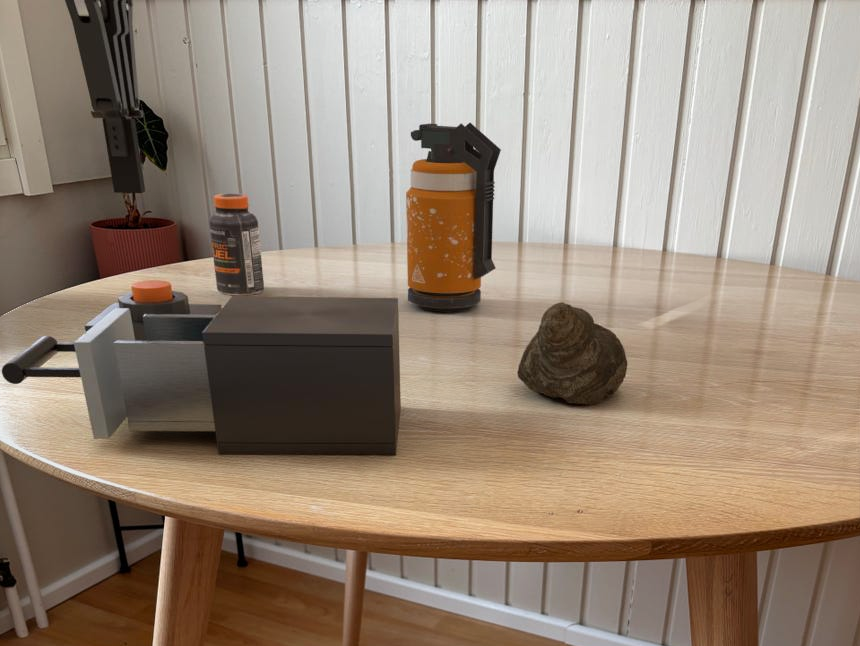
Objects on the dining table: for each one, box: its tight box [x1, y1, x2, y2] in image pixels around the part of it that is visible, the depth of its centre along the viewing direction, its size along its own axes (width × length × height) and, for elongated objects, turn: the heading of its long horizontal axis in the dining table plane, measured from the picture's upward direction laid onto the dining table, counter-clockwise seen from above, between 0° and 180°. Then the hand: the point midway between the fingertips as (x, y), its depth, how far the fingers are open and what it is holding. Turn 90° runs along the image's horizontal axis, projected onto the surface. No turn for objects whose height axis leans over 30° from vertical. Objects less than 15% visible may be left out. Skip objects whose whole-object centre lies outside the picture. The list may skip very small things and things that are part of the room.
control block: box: [84, 290, 223, 341], centre depth 101 cm, size 12×10×4 cm
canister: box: [405, 122, 502, 313], centre depth 110 cm, size 9×11×20 cm
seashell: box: [517, 302, 628, 406], centre depth 85 cm, size 11×12×10 cm
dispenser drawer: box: [1, 308, 216, 440], centre depth 75 cm, size 19×11×7 cm, turn 92°
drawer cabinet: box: [202, 295, 402, 456], centre depth 76 cm, size 14×12×9 cm
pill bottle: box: [208, 193, 265, 296], centre depth 117 cm, size 6×6×11 cm
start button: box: [130, 279, 173, 302], centre depth 99 cm, size 4×4×2 cm
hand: (129, 191), depth 95 cm, fingers closed
